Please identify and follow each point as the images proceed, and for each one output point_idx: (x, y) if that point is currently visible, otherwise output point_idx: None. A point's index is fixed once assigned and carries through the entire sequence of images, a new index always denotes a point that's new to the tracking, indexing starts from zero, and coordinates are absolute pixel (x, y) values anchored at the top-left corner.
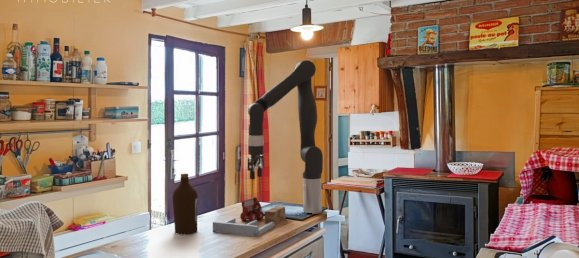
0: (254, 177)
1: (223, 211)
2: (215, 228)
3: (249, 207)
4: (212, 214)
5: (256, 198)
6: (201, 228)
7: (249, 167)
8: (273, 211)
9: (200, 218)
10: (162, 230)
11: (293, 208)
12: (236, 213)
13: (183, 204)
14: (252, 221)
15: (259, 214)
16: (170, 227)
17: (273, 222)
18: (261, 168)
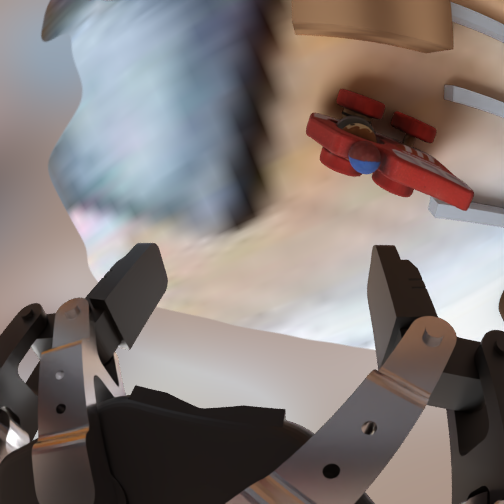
0: (389, 254)
1: (264, 312)
2: None
3: (421, 159)
4: (321, 326)
5: (368, 145)
6: (500, 273)
7: (456, 422)
8: (435, 1)
9: None
10: None
11: (92, 71)
12: (278, 258)
13: None
14: (476, 104)
15: (378, 101)
16: None
17: (459, 5)
18: (90, 310)
